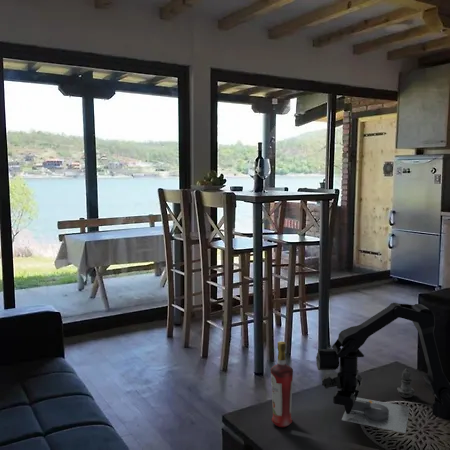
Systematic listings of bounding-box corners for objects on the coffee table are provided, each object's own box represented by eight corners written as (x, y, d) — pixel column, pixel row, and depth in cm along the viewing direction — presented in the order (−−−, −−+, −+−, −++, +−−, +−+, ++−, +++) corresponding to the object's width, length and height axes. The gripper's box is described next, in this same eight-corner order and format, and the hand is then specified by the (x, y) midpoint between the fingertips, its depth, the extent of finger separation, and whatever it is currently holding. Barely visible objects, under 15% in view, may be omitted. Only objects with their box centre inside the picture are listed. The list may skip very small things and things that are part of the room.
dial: (389, 411, 164) (390, 400, 163) (387, 422, 157) (387, 411, 156) (348, 403, 170) (348, 393, 169) (343, 414, 162) (343, 403, 162)
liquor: (267, 420, 161) (266, 340, 158) (286, 416, 164) (286, 337, 161) (277, 431, 155) (276, 348, 151) (297, 426, 157) (297, 344, 154)
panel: (409, 410, 167) (409, 406, 167) (405, 436, 151) (405, 432, 150) (351, 399, 175) (351, 395, 175) (341, 423, 159) (341, 419, 159)
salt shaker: (414, 403, 171) (415, 371, 170) (397, 401, 173) (398, 369, 172) (413, 396, 177) (414, 365, 175) (396, 394, 178) (397, 363, 177)
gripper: (330, 355, 171) (330, 396, 172) (317, 376, 154) (317, 421, 156) (362, 359, 166) (362, 402, 168) (352, 381, 149) (352, 429, 151)
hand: (348, 413), depth 161 cm, fingers closed
